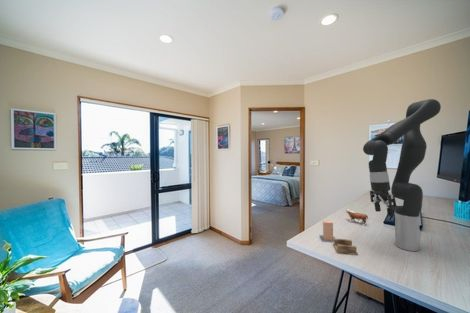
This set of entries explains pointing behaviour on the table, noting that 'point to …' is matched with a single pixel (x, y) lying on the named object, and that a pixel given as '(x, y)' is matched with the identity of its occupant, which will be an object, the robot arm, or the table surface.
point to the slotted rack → (344, 247)
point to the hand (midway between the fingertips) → (384, 213)
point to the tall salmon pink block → (328, 230)
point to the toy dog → (357, 216)
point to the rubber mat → (326, 240)
